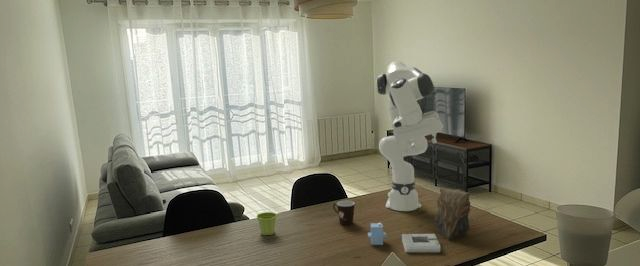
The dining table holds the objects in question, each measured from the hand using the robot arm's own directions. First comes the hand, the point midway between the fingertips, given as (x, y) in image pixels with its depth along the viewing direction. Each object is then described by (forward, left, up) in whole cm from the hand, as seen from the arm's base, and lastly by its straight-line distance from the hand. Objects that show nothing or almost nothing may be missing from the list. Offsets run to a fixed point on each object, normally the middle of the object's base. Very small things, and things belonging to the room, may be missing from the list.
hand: (424, 145), depth 186 cm
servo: (+3, -20, -42) cm, 47 cm away
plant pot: (-9, -70, -42) cm, 83 cm away
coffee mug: (-22, -34, -42) cm, 59 cm away
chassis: (+7, -2, -42) cm, 43 cm away
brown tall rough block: (-5, +13, -42) cm, 44 cm away
